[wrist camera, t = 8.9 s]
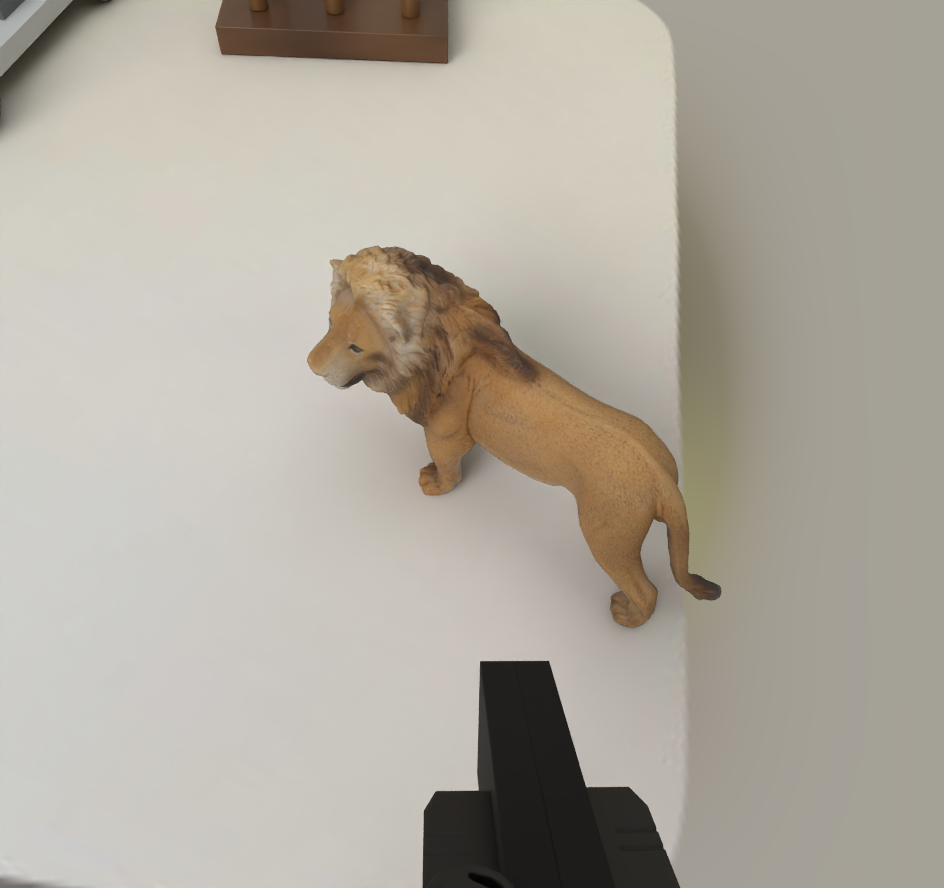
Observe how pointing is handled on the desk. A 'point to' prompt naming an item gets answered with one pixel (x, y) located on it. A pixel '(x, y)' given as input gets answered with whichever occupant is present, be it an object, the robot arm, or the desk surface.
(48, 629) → the desk surface
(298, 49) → the walnut rack
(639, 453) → the lion figurine
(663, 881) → the robot arm
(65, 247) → the desk surface
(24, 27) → the toy car
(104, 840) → the desk surface
